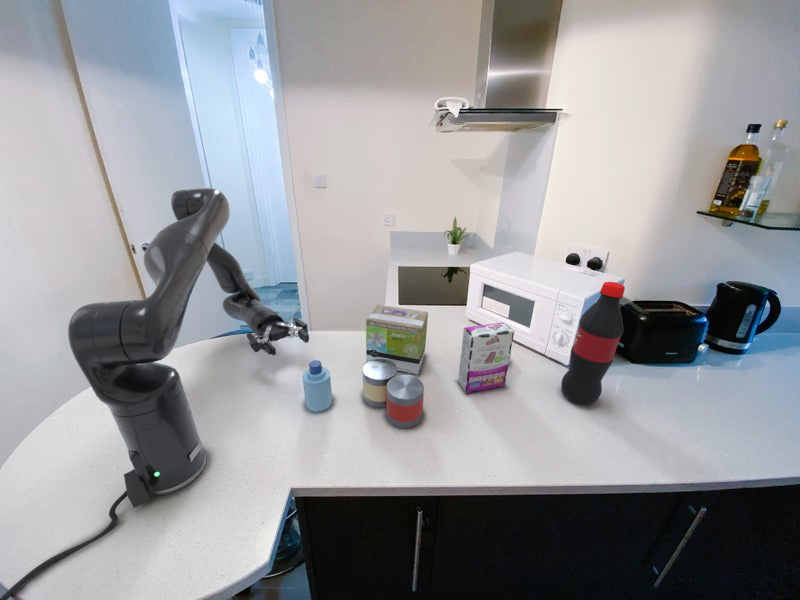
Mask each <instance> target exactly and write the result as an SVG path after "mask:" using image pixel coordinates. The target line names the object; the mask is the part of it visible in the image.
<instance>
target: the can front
mask: <svg viewBox="0 0 800 600" xmlns="http://www.w3.org/2000/svg"><path fill="white" fill-rule="evenodd" d="M424 391H425V386H424V383H423V381H422V380H421V379H419V378H418V377H416V376H413V375H410V374H397V376H395V377H393V378H391V379H390V380H389V381H388V383H387V392H386V407H385V410H386V412H385V416H386V419H387V421H388V423H389V424H391V425H392V426H394V427H396V428H400V429H410V428H414V427H415V426H417V425H419V423H421V421H422V418H423V410H424V394H425V393H424Z"/></svg>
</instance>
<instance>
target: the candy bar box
mask: <svg viewBox="0 0 800 600" xmlns="http://www.w3.org/2000/svg"><path fill="white" fill-rule="evenodd" d="M514 336H515V330H514V329H513V328H512V327H510V326H509V325H507V323H505V322H503V321H502V322H497V323H487V324H481V325H473V326H466V327H463V332H462V342H461V353H460V362H459V371H458V381H457V382H458V384H459V386H460V387H461V389H462V390H463V391H464V393H465V394H470V393H477V392H480V391H481V392H482V391H486V390H493V389H496V388H502V387H505V385H506V379H507V376H508V375H507V374H508V368H509V364H510V363H509V358H510V359H511V357H510V353H511V354H512V352H511V351H512V347H513V340H514ZM508 363H509V364H508Z"/></svg>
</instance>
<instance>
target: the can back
mask: <svg viewBox="0 0 800 600" xmlns="http://www.w3.org/2000/svg"><path fill="white" fill-rule="evenodd" d="M395 376H398V370H397V366H396V365H395V364H394V363H393V362H392V361H389V360H386V359H375V360H371V361H369V362H367V361H366V363H364V365H363V366H362V393H363V394H362V395H363V396H362V397H363V400H364V402H365V403H366V404H367V405H368V406H370V407H373V408H376V409H377V408H378V409H379V408H386V392H387V383H388V381H389V380H390V379H391V378H393V377H395Z"/></svg>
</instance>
